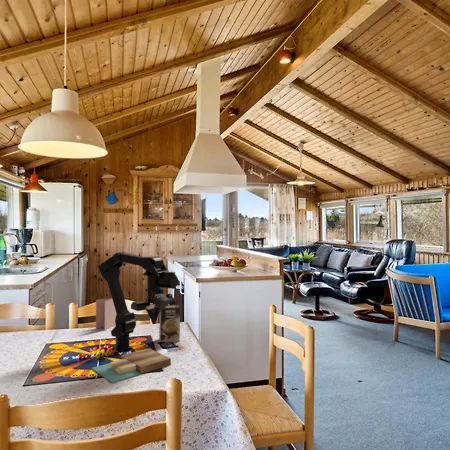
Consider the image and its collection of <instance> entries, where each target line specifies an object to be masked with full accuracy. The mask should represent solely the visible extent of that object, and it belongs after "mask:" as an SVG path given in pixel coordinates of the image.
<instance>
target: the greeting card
mask: <svg viewBox="0 0 450 450" xmlns="http://www.w3.org/2000/svg"><path fill="white" fill-rule="evenodd" d="M115 318H116V310H115V306H114V303H113V300H112V297H106V298H100V299H96V300H95V329H100V328H104V331H107V330H109V329H111V328H114V327H115V326H116V324H115Z"/></svg>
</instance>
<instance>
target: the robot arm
mask: <svg viewBox="0 0 450 450" xmlns="http://www.w3.org/2000/svg"><path fill="white" fill-rule="evenodd" d="M124 263H125V264H129V265H134V266H139V267H141V268H142V269H144V270H145V271H144V272H143V273H142V276H144V277H146V278H147V279H146V285H147V286H146V288H145V292H146V298H145V299H144V300H145V301H141V300H137V301H132V302H131V304H130V309H131V310H133V311H135V312H140V311H141V312H142V311H146V313H147V315H148V317H149V319H150V322H151V323H152V324H153V325H156V323H157V320H158V318H159V316H160V311H161V310H162V309H164V308H165V307H167V306H168V305H177V300H176V298H175V297H173V294H172V293H166V294H164V290H163V289H162V288H164V289H172V290H173V289H176V288H177V287H178V285H179V279H178V276H177V274H176V272H175V271H169V269H168V267H167V265H165V264H166V263H164V260H163V258H162V257H161V256H158V255H157V256H155V255H154V256H143V255H138V254H132V253H128V252H125V251H120V252H119V251H118V252H115V253H114V254H112V256H111V257H108V259H106V260H105V261H103V262H101V264H100V265H99V267H98V269H99V270H98V271H99V274H101V275H100V276H101V278H102V279H104V281H105V282H106V283H107V286H108V288H109V293H110V295H111V298H112V300H113V303H114V306H115V310H116V318H115V324H116V325H115V326H113V327H112V329H111V330H110V335H111V336H112V337H114V338H115V346H112V349H114V350H115V351H118V352H123V351H127V350H131V349H133V346H131V345H130V334H132V333H134V330H135V328H136V326H137V319H136V316H135V313H134V312H130V310H128V306H127V303H126V299H125V296H124V295H125V294H124V293H123V289H122V286H121V282H120V274H121V270H120V269H121V268H122V267H123V265H124Z"/></svg>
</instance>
